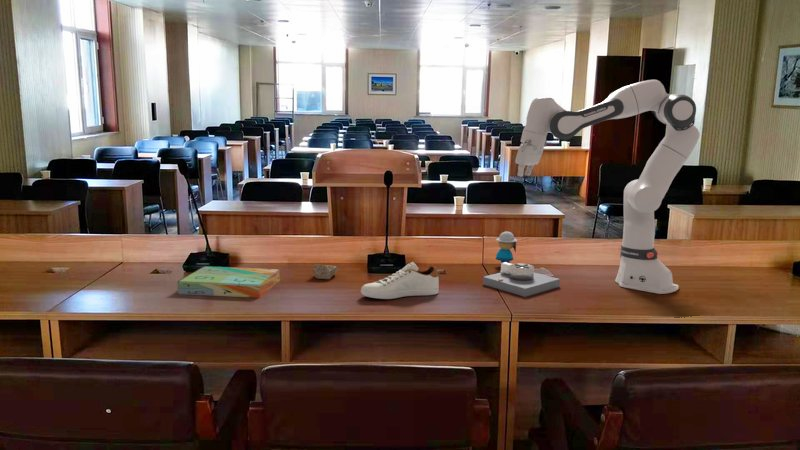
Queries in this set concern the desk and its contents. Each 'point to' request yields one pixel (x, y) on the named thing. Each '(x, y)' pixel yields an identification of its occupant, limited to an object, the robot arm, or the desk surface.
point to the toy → (506, 247)
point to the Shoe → (404, 284)
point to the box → (229, 281)
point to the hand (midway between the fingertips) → (523, 175)
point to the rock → (324, 271)
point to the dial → (518, 270)
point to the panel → (521, 283)
